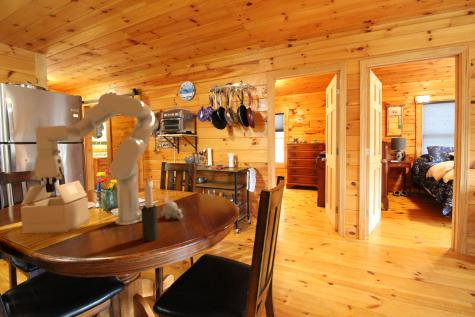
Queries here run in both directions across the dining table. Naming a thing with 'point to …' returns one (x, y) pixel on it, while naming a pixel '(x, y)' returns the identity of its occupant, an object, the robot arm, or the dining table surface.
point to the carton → (54, 215)
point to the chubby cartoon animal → (171, 210)
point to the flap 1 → (36, 194)
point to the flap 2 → (71, 191)
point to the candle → (149, 215)
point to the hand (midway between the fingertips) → (50, 191)
